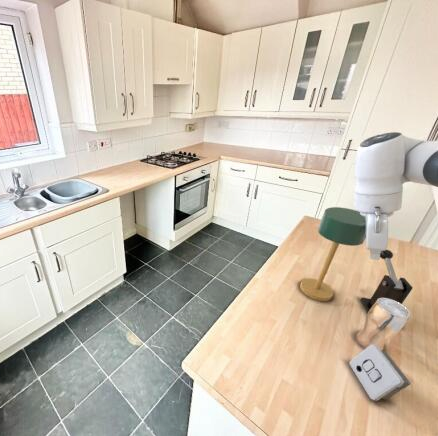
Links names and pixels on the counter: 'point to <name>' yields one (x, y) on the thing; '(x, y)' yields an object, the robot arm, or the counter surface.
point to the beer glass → (382, 322)
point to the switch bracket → (388, 292)
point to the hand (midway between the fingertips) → (374, 250)
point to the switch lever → (391, 269)
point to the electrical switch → (378, 373)
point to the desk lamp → (335, 245)
